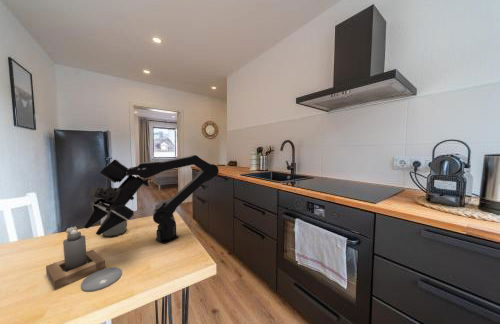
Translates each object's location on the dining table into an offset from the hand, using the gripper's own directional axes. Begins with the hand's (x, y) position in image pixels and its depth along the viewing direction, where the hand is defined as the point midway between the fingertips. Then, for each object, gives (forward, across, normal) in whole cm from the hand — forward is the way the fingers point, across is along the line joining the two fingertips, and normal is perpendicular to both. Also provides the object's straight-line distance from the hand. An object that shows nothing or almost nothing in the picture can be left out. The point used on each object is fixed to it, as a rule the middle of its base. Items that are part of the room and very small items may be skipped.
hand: (91, 231), depth 59 cm
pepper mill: (+10, 0, +5) cm, 12 cm away
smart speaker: (-2, -19, +18) cm, 26 cm away
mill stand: (+10, 0, +5) cm, 11 cm away
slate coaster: (+9, +12, +6) cm, 16 cm away
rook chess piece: (+8, -17, +8) cm, 21 cm away
